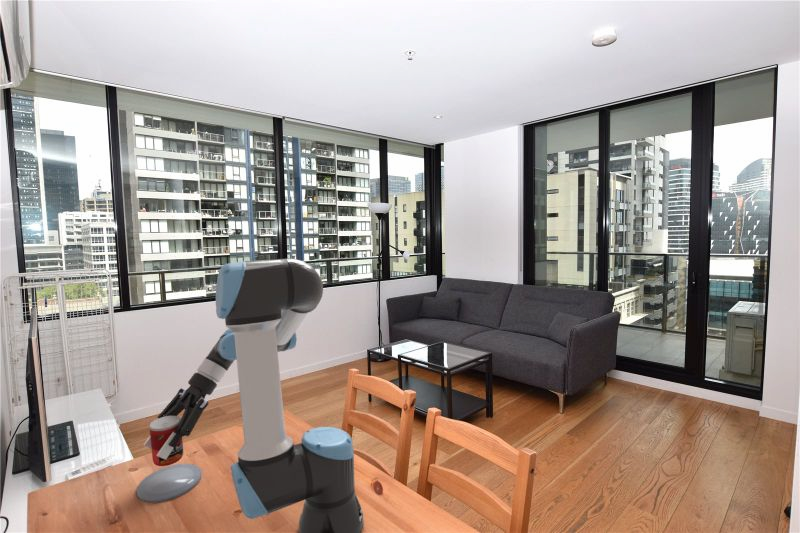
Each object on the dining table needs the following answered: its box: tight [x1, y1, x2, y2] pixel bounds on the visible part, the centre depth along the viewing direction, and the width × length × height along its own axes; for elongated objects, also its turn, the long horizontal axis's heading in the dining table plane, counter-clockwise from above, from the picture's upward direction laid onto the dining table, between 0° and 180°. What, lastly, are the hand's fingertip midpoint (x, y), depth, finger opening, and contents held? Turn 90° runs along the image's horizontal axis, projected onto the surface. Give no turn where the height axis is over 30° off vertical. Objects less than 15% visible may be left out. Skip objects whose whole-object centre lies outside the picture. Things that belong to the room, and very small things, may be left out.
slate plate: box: [136, 463, 202, 503], centre depth 118 cm, size 16×16×1 cm
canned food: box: [149, 415, 184, 467], centre depth 117 cm, size 8×8×11 cm
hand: (154, 452), depth 114 cm, fingers closed on canned food, 8 cm apart
